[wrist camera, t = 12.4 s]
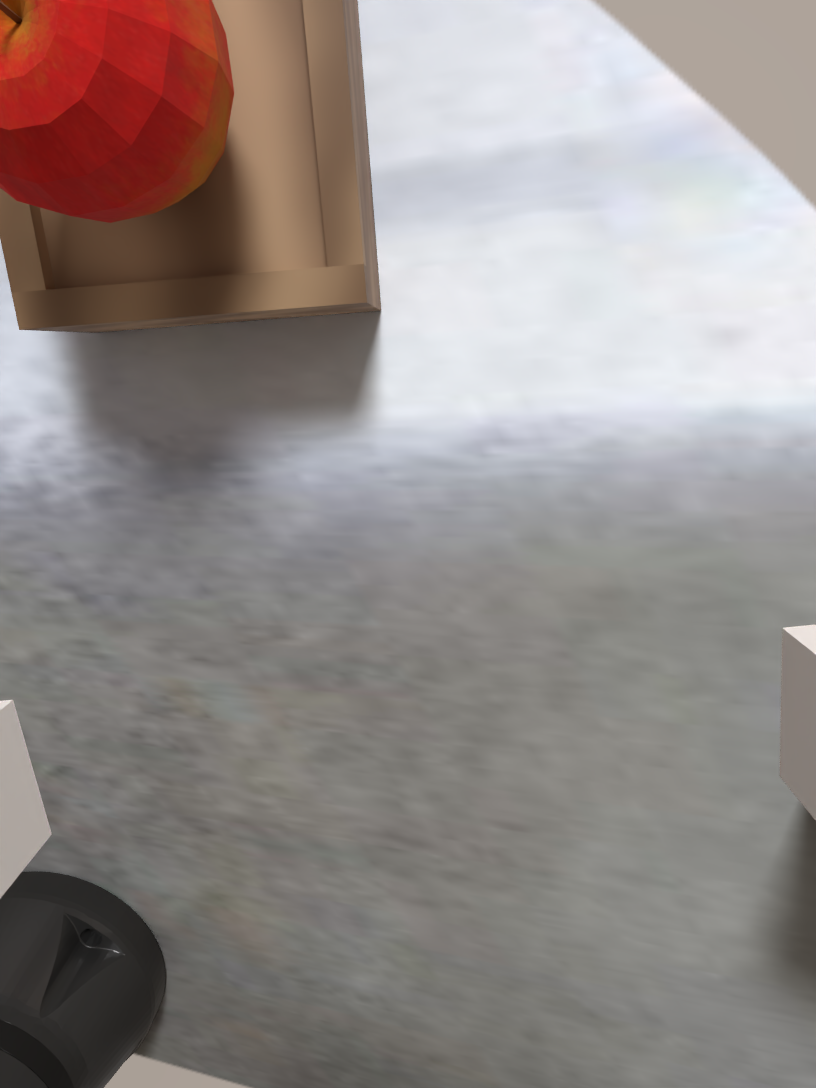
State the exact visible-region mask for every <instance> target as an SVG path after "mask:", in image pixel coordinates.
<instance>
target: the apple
mask: <svg viewBox="0 0 816 1088" xmlns="http://www.w3.org/2000/svg"><path fill="white" fill-rule="evenodd" d="M233 98H234V87H233V80H232V73H231V66H230V59H229V52H228V44H227V37H226V32H225V30H224V28H223V25H222V23H221V21H220V18H219V16H218V14H217V11H216V9H215V7H214V4H213V2H212V0H0V188H1V189H2V190H4V191H5V192H6V193H7V194H9V195H10V196H11V197H12V198H14V199H15V200H16V201H19V202H22V203H26V204H29V205H33V206H37V207H40V208H44V209H47V210H51V211H54V212H58V213H61V214H65V215H68V216H73V217H78V218H84V219H90V220H96V221H102V222H108V223H112V222H117V221H121V220H126V219H130V218H135V217H140V216H144V215H149V214H154V213H156V212H158V211H160V210H163V209H165V208H167V207H169V206H171V205H173V204H175V203H177V202H179V201H180V200H182V199H183V198H184V197H186V196H187V195H188V194H190V193H191V192H193V191H194V190H195V189H197V188H198V187H199V186H201V185H202V184H203V183H205V181H206V180H207V178H208V177H209V175H210V174H211V172H212V170H213V169H214V167H215V166H216V164H217V163H218V161H219V159H220V158H221V156H222V155H223V153H224V149H225V143H226V137H227V132H228V126H229V121H230V115H231V109H232V104H233Z"/></svg>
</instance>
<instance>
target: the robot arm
mask: <svg viewBox="0 0 816 1088" xmlns="http://www.w3.org/2000/svg"><path fill="white" fill-rule="evenodd" d="M780 777H781V778H782V780H783V781H784V782H785V783H786V785H787V786H788V787H789V788H790V790H791V791H792V792H793V793H794V795H795V796H796V797H797V798H798V799H799V801H800V802H801V803H802V804H803V806H804V807H805V808H806V809H807V811H808V812H809V813H810V814H811V816H812V817H813V818H814V819H815V820H816V625H807V626H797V627H786V628H782V675H781V732H780ZM51 835H52V833H51V830H50V826H49V823H48V819H47V816H46V813H45V809H44V806H43V802H42V799H41V795H40V792H39V788H38V785H37V781H36V778H35V774H34V771H33V767H32V764H31V761H30V757H29V754H28V750H27V747H26V743H25V740H24V736H23V733H22V729H21V726H20V722H19V719H18V716H17V712H16V709H15V705H14V702H13V700H6V701H0V1088H104V1087H105V1085H106V1084H107V1083H108V1082H109V1080H110V1079H111V1078H112V1077H113V1076H114V1074H115V1073H116V1072H117V1071H118V1069H119V1068H120V1067H121V1066H122V1064H123V1063H124V1062H125V1061H126V1060H127V1059H128V1058H129V1057H130V1056H131V1055H132V1054H133V1053H134V1052H135V1051H136V1050H137V1049H138V1047H139V1046H140V1044H141V1043H142V1041H143V1040H144V1038H145V1036H146V1035H147V1033H148V1031H149V1029H150V1026H151V1024H152V1022H153V1019H154V1017H155V1015H156V1013H157V1010H158V1008H159V1006H160V1003H161V1001H162V998H163V994H164V990H165V966H164V961H163V957H162V954H161V951H160V948H159V946H158V944H157V942H156V940H155V938H154V936H153V934H152V933H151V931H150V930H149V928H148V927H147V926H146V924H145V923H144V922H143V921H142V919H141V918H140V917H139V916H138V915H137V914H136V913H135V912H134V911H133V910H132V909H131V908H130V907H129V906H128V905H126V904H125V903H124V902H123V901H121V900H120V899H118V898H117V897H116V896H114V895H113V894H111V893H109V892H108V891H106V890H104V889H102V888H100V887H98V886H96V885H94V884H92V883H89V882H87V881H84V880H81V879H78V878H75V877H72V876H68V875H63V874H58V873H51V872H22V871H23V870H24V868H25V867H26V866H27V865H28V863H29V862H30V861H31V860H32V858H33V857H34V856H35V855H36V853H37V852H38V851H39V850H40V848H41V847H42V846H43V845H44V843H45V842H46V841H47V840H48V838H49V837H50V836H51Z"/></svg>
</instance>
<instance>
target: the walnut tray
mask: <svg viewBox="0 0 816 1088" xmlns="http://www.w3.org/2000/svg"><path fill="white" fill-rule="evenodd" d="M212 2H213V4H214V7H215V9H216V11H217V14H218V16H219V18H220V21H221V23H222V25H223V28H224V30H225V32H226V37H227V44H228V52H229V59H230V66H231V73H232V80H233V87H234V98H233V104H232V109H231V115H230V121H229V126H228V132H227V137H226V143H225V149H224V153H223V155H222V156H221V158H220V159H219V161H218V163H217V164H216V166H215V167H214V169H213V170H212V172H211V174H210V175H209V177H208V178H207V180H206V181H205V183H203V184H202V185H201V186H199V187H198V188H197V189H195V190H194V191H193V192H191V193H190V194H188V195H187V196H186V197H184V198H183V199H182V200H180V201H179V202H177V203H175V204H173V205H171V206H169V207H167V208H165V209H163V210H160V211H158V212H156V213H154V214H149V215H144V216H140V217H135V218H130V219H126V220H121V221H117V222H112V223H108V222H102V221H96V220H90V219H84V218H78V217H73V216H68V215H65V214H61V213H58V212H54V211H51V210H47V209H44V208H40V207H37V206H33V205H29V204H26V203H22V202H19V201H16V200H15V199H14V198H12V197H11V196H10V195H9V194H7V193H6V192H5V191H4V190H2V189H1V188H0V239H1V244H2V249H3V253H4V258H5V263H6V268H7V273H8V278H9V282H10V287H11V292H12V297H13V302H14V307H15V311H16V316H17V321H18V326H19V330H40V331H65V332H91V333H97V332H110V331H123V330H136V329H148V328H161V327H174V326H187V325H200V324H213V323H226V322H239V321H252V320H265V319H278V318H291V317H304V316H317V315H330V314H343V313H356V312H369V311H381V301H380V288H379V275H378V262H377V249H376V236H375V223H374V210H373V197H372V184H371V171H370V158H369V145H368V132H367V119H366V106H365V93H364V80H363V67H362V54H361V41H360V28H359V15H358V2H357V0H212Z"/></svg>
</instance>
